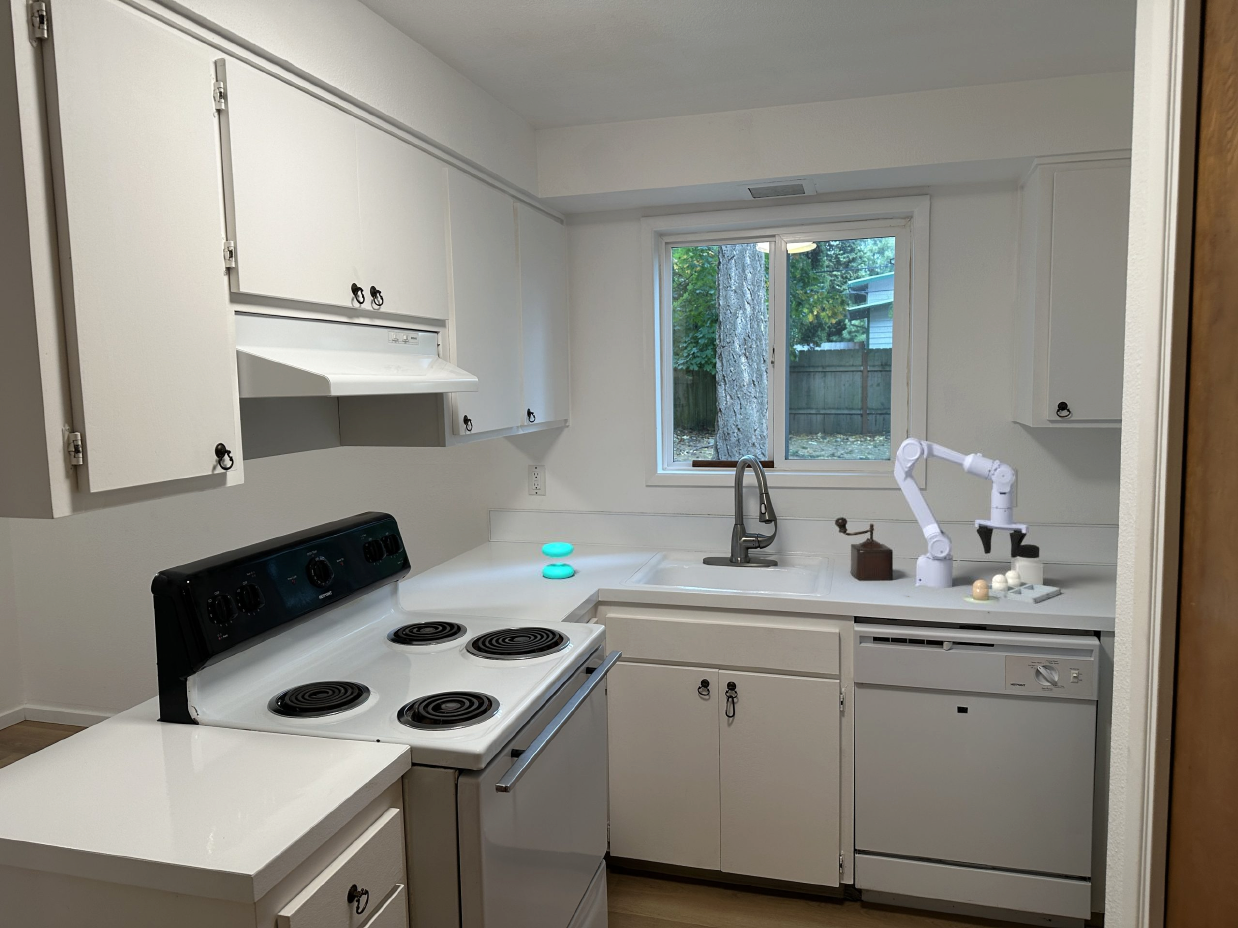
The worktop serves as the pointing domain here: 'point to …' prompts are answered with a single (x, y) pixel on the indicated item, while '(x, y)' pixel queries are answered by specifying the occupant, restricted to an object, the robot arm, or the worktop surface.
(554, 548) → the cyan oval discs
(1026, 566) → the medicine bottle
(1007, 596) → the carton
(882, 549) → the manual coffee grinder
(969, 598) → the saucer
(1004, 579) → the egg white front
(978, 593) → the egg brown
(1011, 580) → the egg white back
